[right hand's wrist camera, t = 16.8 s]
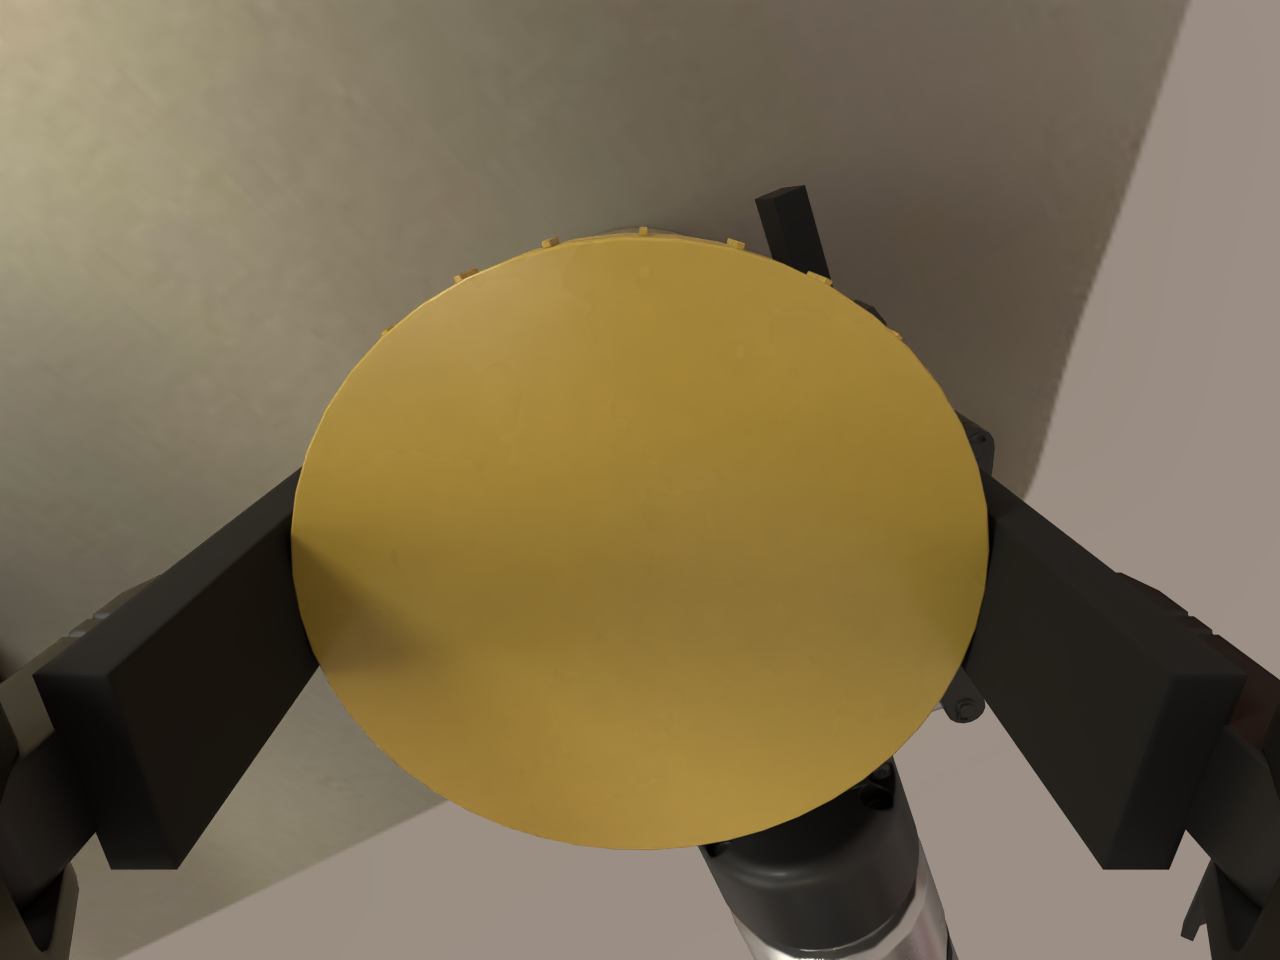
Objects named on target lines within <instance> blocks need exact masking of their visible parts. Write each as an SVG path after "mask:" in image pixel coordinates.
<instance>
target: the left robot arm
mask: <svg viewBox="0 0 1280 960" xmlns="http://www.w3.org/2000/svg"><path fill="white" fill-rule="evenodd" d="M755 202H756V205H757V208H758V212H759V215H760V218H761V221H762V225H763V228H764V231H765V235H766V238H767V241H768V245H769V248H770V251H771V254H772V258H773V260H776V261H778V262H780V263H783V264H785V265H787V266H789V267H791V268H793V269H796V270H798V271H800V272H802V273H804V274H806V275H807V273H808V271H810V272H813V273H815V274H818V275H820V276H823V277H826V278H828V279H830V280H831V278H830V275H829V271H828V267H827V264H826V260H825V257H824V253H823V249H822V246H821V242H820V238H819V235H818V231H817V228H816V224H815V220H814V217H813V213H812V209H811V206H810V202H809V198H808V195H807V191H806V188H805V185H803V186H794V187H786V188H781V189H778V190H776V191H773V192H771V193H769V194H766V195H764V196H761V197H759V198H756V199H755ZM831 287H833V286H832V284H831ZM853 302H855V303H856V304H858V305H859V306H861V307H862V308H864V309H865V310H867V311H868V312H870V313H871V314H873V315H874V316H875V317H876V318H877V319H878V320H879V321H881V322H882V323H883V324H884V325H885V326H886V327H887V325H886V322H885V321H884V320H883V318H882V317H881V316H880V315H879V313H878V312H877V311H876V310H875V308H874V307H873V306H870V305H868V304H866V303H863V302H861V301H859V300H855V301H853ZM954 411H955V410H954ZM955 413H956V415H957V416H958V418H959V420H960V422H961V423H962V425H963V428H964V430H965V433H966V435H967V438H968V441H969V443H970V446H971V448H972V451H973V454H974V456H975V459H976V461H977V464H978V467H979V468H981V469H982V470H983V471H985V472H986V473H987V474H988V475H990V476H992V467H993V458H994V449H995V447H994V439H993V438H992V436H991V435H990V433H988V432H987V431H985V430H984V429H982V428H981V427H979V426H978V425H977V424H975V423H973V422H972V421H970V420H969V419H967V418H966V417H964V416H963V415H961V414H960V413H958V412H957V411H955ZM941 708H943V709H944V710H945V712H946V714H947V715H948V717H949V718H950V719H951V720H953V721H955V722H957V723H967V722H971V721H973V720H975V719H977V718H978V717H979V716H980V715H981V714H982V713H983V711H984V709H985V701H984V698H983V697H982V695H981V694H980V692H979V691H978V689H977V688H976V687H975V685H974V684H973V682H972V681H971V679H970V678H969V677H968V675H967V674H966V672H965V671H964V669H963V668H962V667H961V666H960V667H959V669H958V671H957V673H956V674H955V676H954V678H953V680H952V681H951V683H950V685H949V687H948V688H947V690H946V692H945V694H944V695H943V697H942V699H941V700H940V701H939V703H938V704H937V705H936V706H935V708H934V709H933V710H932V712H933V711H935V710H938V709H941ZM698 847H699V849H700V851H701V853H702V855H703V857H704V859H705V861H706V863H707V865H708V867H709V869H710V871H711V873H712V875H713V877H714V879H715V881H716V883H717V885H718V887H719V889H720V891H721V893H722V895H723V897H724V899H725V901H726V903H727V905H728V906H729V908H730V910H731V913H732V915H733V918H734V921H735V923H736V925H737V927H738V929H739V931H740V933H741V934H742V936H743V938H744V940H745V942H746V944H747V946H748V948H749V950H750V951H751V953H752V955H753V957H754V959H755V960H958V957H957V955H956V952H955V949H954V946H953V944H952V941H951V938H950V936H949V931H948V927H947V924H946V921H945V915H944V910H943V907H942V904H941V901H940V898H939V895H938V892H937V889H936V886H935V883H934V880H933V877H932V874H931V871H930V868H929V865H928V863H927V859H926V857H925V854H924V851H923V848H922V845H921V842H920V839H919V837H918V834H917V830H916V826H915V823H914V820H913V817H912V814H911V810H910V808H909V804H908V801H907V798H906V795H905V792H904V789H903V786H902V783H901V780H900V777H899V774H898V771H897V768H896V765H895V761H894V758H893V755H892V756H891V757H890V758H889V759H888V760H886V761H885V762H884V763H883V764H882V765H880V766H879V767H878V768H877V769H875V770H874V771H873V772H872V773H871V774H869V775H868V776H867V777H866V778H864V779H863V780H862V781H860V782H858V783H857V784H855V785H854V786H852V787H851V788H849V789H848V790H846V791H845V792H843V793H842V794H840V795H839V796H837V797H835V798H834V799H832V800H830V801H828V802H826V803H825V804H823V805H821V806H819V807H817V808H815V809H813V810H811V811H809V812H807V813H805V814H803V815H801V816H799V817H797V818H794V819H791V820H789V821H786V822H784V823H781V824H779V825H776V826H773V827H771V828H768V829H766V830H763V831H759V832H756V833H752V834H748V835H745V836H741V837H738V838H734V839H730V840H727V841H721V842H715V843H710V844H704V845H698Z"/></svg>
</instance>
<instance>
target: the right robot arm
mask: <svg viewBox="0 0 1280 960" xmlns="http://www.w3.org/2000/svg"><path fill="white" fill-rule="evenodd" d="M302 467H303V466H302ZM302 467H301V468H300V469H298V470H297V471H296V472H294V473H293V474H292V475H290V476H289V477H288V478H287V479H285V480H284V481H283V482H281V483H280V484H279V485H277V486H276V487H275V488H274V489H272V490H271V491H270V492H268V493H267V494H266V495H264V496H263V497H262V498H261V499H259V500H258V501H257V502H255V503H254V504H253V505H251V506H250V507H249V508H248V509H246V510H245V511H244V512H242V513H241V514H240V515H239V516H237V517H236V518H235V519H233V520H232V521H231V522H229V523H228V524H227V525H226V526H224V527H223V528H222V529H220V530H219V531H218V532H216V533H215V534H214V535H213V536H211V537H210V538H209V539H207V540H206V541H205V542H203V543H202V544H201V545H200V546H198V547H197V548H196V549H194V550H193V551H192V552H190V553H189V554H188V555H187V556H185V557H184V558H183V559H181V560H180V561H179V562H178V563H176V564H175V565H174V566H172V567H171V568H170V569H168V570H167V571H166V572H165V573H163V574H162V575H159V576H157V577H155V578H153V579H151V580H148V581H146V582H144V583H142V584H140V585H138V586H136V587H134V588H132V589H130V590H127V591H125V592H123V593H121V594H120V595H119V596H117V597H116V598H115V599H113V600H112V601H111V602H109V603H108V604H107V605H105V606H104V607H103V608H101V609H100V610H99V611H97V612H96V613H95V614H93V619H87V620H85V621H84V622H83V623H81V624H80V625H79V626H77V627H76V628H75V629H73V630H72V631H71V632H69V637H63V638H61V639H60V640H58V641H57V642H56V643H54V644H53V645H52V646H50V647H49V648H48V649H46V650H45V651H44V652H42V653H41V654H40V655H38V656H37V657H36V658H34V659H33V660H32V661H30V662H29V663H28V664H26V665H25V666H24V667H22V668H21V669H20V670H18V671H17V672H16V673H14V674H13V675H12V676H10V677H9V678H8V679H6V680H5V681H4V682H2V683H1V684H0V960H69V953H70V946H71V940H72V933H73V926H74V920H75V913H76V906H77V900H78V893H79V887H78V882H77V876H76V874H75V871H74V869H73V867H72V864H71V862H70V861H71V860H72V859H73V857H74V856H75V855H76V854H77V853H78V852H79V851H80V849H81V848H82V847H83V846H84V845H85V844H86V842H87V841H88V840H89V839H90V838H91V837H92V836H93V834H94V833H95V832H96V834H97V836H98V839H99V841H100V843H101V846H102V848H103V851H104V853H105V856H106V858H107V861H108V863H109V865H110V868H111V869H178V867H179V866H180V865H181V863H182V862H183V860H184V859H185V857H186V856H187V855H188V853H189V852H190V850H191V849H192V847H193V846H194V844H195V843H196V842H197V840H198V839H199V837H200V836H201V834H202V833H203V832H204V830H205V829H206V827H207V826H208V824H209V823H210V822H211V820H212V819H213V817H214V816H215V814H216V813H217V812H218V810H219V809H220V807H221V806H222V804H223V803H224V801H225V800H226V799H227V797H228V796H229V794H230V793H231V791H232V790H233V789H234V787H235V786H236V784H237V783H238V781H239V780H240V779H241V777H242V776H243V774H244V773H245V771H246V770H247V769H248V767H249V766H250V764H251V763H252V761H253V760H254V758H255V757H256V756H257V754H258V753H259V751H260V750H261V748H262V747H263V746H264V744H265V743H266V741H267V740H268V738H269V737H270V736H271V734H272V733H273V731H274V730H275V728H276V727H277V726H278V724H279V723H280V721H281V720H282V718H283V717H284V716H285V714H286V713H287V711H288V710H289V708H290V707H291V705H292V704H293V703H294V701H295V700H296V698H297V697H298V695H299V694H300V693H301V691H302V690H303V688H304V687H305V685H306V684H307V683H308V681H309V680H310V678H311V677H312V675H313V674H314V673H315V671H316V670H317V668H318V667H319V663H318V661H317V659H316V657H315V655H314V653H313V651H312V648H311V645H310V642H309V640H308V637H307V634H306V631H305V628H304V625H303V622H302V619H301V616H300V612H299V608H298V602H297V597H296V592H295V587H294V582H293V576H292V556H291V527H292V518H293V509H294V500H295V492H296V488H297V485H298V481H299V478H300V474H301V470H302ZM979 472H980V477H981V481H982V486H983V491H984V495H985V500H986V505H987V515H988V533H989V559H988V570H987V580H986V589H985V594H984V598H983V602H982V606H981V610H980V614H979V618H978V622H977V626H976V629H975V632H974V634H973V637H972V639H971V642H970V644H969V647H968V649H967V652H966V654H965V657H964V659H963V662H962V664H961V667H962V668H963V669H964V671H965V672H966V674H967V675H968V677H969V678H970V679H971V681H972V682H973V684H974V685H975V687H976V688H977V689H978V691H979V692H980V694H981V695H982V697H983V698H984V699H985V701H986V702H987V704H988V705H989V707H990V708H991V709H992V711H993V712H994V714H995V715H996V717H997V718H998V720H999V721H1000V722H1001V724H1002V725H1003V727H1004V728H1005V730H1006V731H1007V732H1008V734H1009V735H1010V737H1011V738H1012V740H1013V741H1014V742H1015V744H1016V745H1017V747H1018V748H1019V749H1020V751H1021V752H1022V754H1023V755H1024V757H1025V758H1026V760H1027V761H1028V762H1029V764H1030V765H1031V767H1032V768H1033V770H1034V771H1035V773H1036V774H1037V775H1038V777H1039V778H1040V780H1041V781H1042V783H1043V784H1044V785H1045V787H1046V788H1047V790H1048V791H1049V793H1050V794H1051V795H1052V797H1053V798H1054V800H1055V801H1056V803H1057V804H1058V805H1059V807H1060V808H1061V810H1062V811H1063V813H1064V814H1065V815H1066V817H1067V818H1068V820H1069V821H1070V823H1071V824H1072V826H1073V827H1074V828H1075V830H1076V831H1077V833H1078V834H1079V836H1080V837H1081V838H1082V840H1083V841H1084V843H1085V844H1086V846H1087V847H1088V848H1089V850H1090V851H1091V853H1092V854H1093V856H1094V857H1095V859H1096V860H1097V861H1098V863H1099V864H1100V866H1101V867H1102V869H1104V870H1169V869H1170V866H1171V864H1172V861H1173V859H1174V856H1175V854H1176V852H1177V849H1178V847H1179V844H1180V842H1181V839H1182V837H1183V834H1184V832H1185V829H1186V830H1187V831H1188V833H1189V834H1190V835H1191V836H1192V837H1193V838H1194V839H1195V840H1196V842H1197V843H1198V844H1199V845H1200V846H1201V847H1202V848H1203V850H1204V851H1205V852H1206V853H1207V854H1208V855H1209V856H1210V858H1211V860H1210V862H1209V864H1208V867H1207V869H1206V871H1205V874H1204V876H1203V878H1202V880H1201V883H1200V885H1199V887H1198V890H1197V892H1196V894H1195V896H1194V899H1193V901H1192V903H1191V906H1190V908H1189V910H1188V913H1187V915H1186V917H1185V919H1184V922H1183V927H1182V932H1181V936H1182V937H1184V938H1186V939H1189V940H1191V941H1193V940H1194V938H1195V935H1196V933H1197V931H1198V929H1199V927H1200V926H1201V925H1203V924H1207V930H1208V937H1209V944H1210V950H1211V956H1212V960H1280V680H1279V679H1278V678H1276V677H1275V676H1274V675H1272V674H1271V673H1270V672H1268V671H1267V670H1266V669H1264V668H1263V667H1262V666H1260V665H1259V664H1257V663H1256V662H1255V661H1253V660H1252V659H1251V658H1249V657H1248V656H1247V655H1245V654H1244V653H1243V652H1241V651H1240V650H1239V649H1237V648H1236V647H1235V646H1233V645H1232V644H1230V643H1229V642H1228V641H1226V640H1225V639H1224V638H1222V637H1221V636H1220V635H1213V633H1212V629H1210V628H1209V627H1208V626H1206V625H1205V624H1203V623H1202V622H1201V621H1199V620H1198V619H1197V618H1195V617H1194V616H1188V612H1187V611H1186V610H1185V609H1183V608H1182V607H1180V606H1179V605H1178V604H1176V603H1175V602H1174V601H1172V600H1171V599H1170V598H1168V597H1167V596H1166V595H1164V594H1163V593H1162V592H1160V591H1159V590H1157V589H1155V588H1152V587H1150V586H1148V585H1146V584H1144V583H1142V582H1140V581H1138V580H1136V579H1133V578H1131V577H1129V576H1127V575H1125V574H1123V573H1116V572H1114V571H1113V570H1112V569H1111V568H1109V567H1108V566H1107V565H1105V564H1104V563H1103V562H1101V561H1100V560H1099V559H1098V558H1096V557H1095V556H1094V555H1092V554H1091V553H1090V552H1088V551H1087V550H1086V549H1084V548H1083V547H1082V546H1081V545H1079V544H1078V543H1077V542H1075V541H1074V540H1073V539H1072V538H1070V537H1069V536H1068V535H1066V534H1065V533H1064V532H1062V531H1061V530H1060V529H1059V528H1057V527H1056V526H1055V525H1053V524H1052V523H1051V522H1049V521H1048V520H1047V519H1046V518H1044V517H1043V516H1042V515H1040V514H1039V513H1038V512H1037V511H1035V510H1034V509H1033V508H1031V507H1030V506H1029V505H1027V504H1026V503H1025V502H1024V501H1022V500H1021V499H1020V498H1018V497H1017V496H1016V495H1014V494H1013V493H1012V492H1011V491H1009V490H1008V489H1007V488H1005V487H1004V486H1003V485H1001V484H1000V483H999V482H998V481H996V480H995V479H994V478H992V477H991V476H990V475H988V474H987V473H986V472H985V471H983V470H982V469H981V468H979Z"/></svg>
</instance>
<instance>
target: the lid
mask: <svg viewBox="0 0 1280 960" xmlns="http://www.w3.org/2000/svg"><path fill="white" fill-rule="evenodd" d="M542 246H543V247H542V248H538V249H534V250H531V251H528V252H526V253H524V254H521V255H519V256H516V257H514V258H512V259H509V260H507V261H504V262H502V263H500V264H497V265H495V266H492V267H490V268H488V269H485V270H483V271H480V272H479V271H478V269H477V268H475V269H473V270H470V271H467V272H465V273H462V274H460V275H458V276H456V277H454V278H453V280H454V281H455V283H456V284H454V285H453V286H451V287H449V288H448V289H446V290H444V291H443V292H441V293H439V294H438V295H436V296H434V297H433V298H431V299H429V300H428V301H426V302H424V303H423V304H421V305H420V306H419V307H417V308H416V309H415V310H414V311H412V312H411V313H410V314H409V315H408V316H406V317H405V318H404V319H403V320H401V321H400V322H399V323H397V324H395V325H393V326H391V327H389V328H387V329H385V330H384V331H383V332H382V333H381V335H382V337H381V338H380V339H379V341H378V342H377V343H376V344H375V345H374V346H373V347H372V348H371V349H370V351H369V352H368V353H367V354H366V355H365V356H364V357H363V358H362V359H361V361H360V362H359V363H358V364H357V365H356V366H355V367H354V368H353V369H352V371H351V372H350V373H349V375H348V376H347V378H346V379H345V381H344V382H343V384H342V385H341V387H340V388H339V390H338V391H337V393H336V395H335V396H334V397H333V399H332V401H331V402H330V404H329V405H328V407H327V408H326V410H325V412H324V414H323V416H322V418H321V421H320V423H319V425H318V427H317V429H316V432H315V434H314V436H313V438H312V441H311V443H310V445H309V447H308V449H307V452H306V456H305V459H304V463H303V467H302V470H301V474H300V478H299V481H298V485H297V488H296V492H295V500H294V509H293V518H292V527H291V556H292V576H293V582H294V587H295V592H296V597H297V602H298V608H299V612H300V616H301V619H302V622H303V625H304V628H305V631H306V634H307V637H308V640H309V642H310V645H311V648H312V651H313V653H314V655H315V657H316V659H317V661H318V663H319V665H320V667H321V669H322V671H323V673H324V675H325V677H326V679H327V681H328V683H329V685H330V686H331V688H332V689H333V691H334V692H335V694H336V695H337V697H338V698H339V699H340V701H341V702H342V704H343V705H344V707H345V708H346V710H347V711H348V713H349V714H350V715H351V717H352V718H353V719H354V720H355V721H356V723H357V724H358V725H359V726H360V727H361V728H362V729H363V731H364V732H365V733H366V734H367V735H368V736H369V737H370V738H371V740H372V741H373V742H374V743H375V744H376V745H377V746H378V747H379V748H380V749H381V750H382V751H383V752H385V753H386V754H387V755H388V756H389V757H390V758H391V759H392V760H394V761H395V762H396V763H397V764H398V765H399V766H400V767H401V768H403V769H404V770H405V771H406V772H407V773H409V774H410V775H412V776H413V777H415V778H416V779H417V780H419V781H420V782H422V783H423V784H424V785H426V786H427V787H429V788H430V789H432V790H433V791H434V792H436V793H437V794H439V795H441V796H443V797H445V798H446V799H448V800H450V801H452V802H454V803H455V804H457V805H459V806H461V807H463V808H464V809H466V810H468V811H470V812H472V813H475V814H477V815H479V816H482V817H484V818H486V819H489V820H491V821H494V822H496V823H498V824H500V825H503V826H505V827H509V828H512V829H515V830H518V831H521V832H525V833H528V834H531V835H534V836H537V837H541V838H546V839H551V840H555V841H560V842H565V843H570V844H574V845H580V846H589V847H598V848H607V849H627V850H657V849H670V848H683V847H692V846H698V845H704V844H710V843H715V842H721V841H727V840H730V839H734V838H738V837H741V836H745V835H748V834H752V833H756V832H759V831H763V830H766V829H768V828H771V827H773V826H776V825H779V824H781V823H784V822H786V821H789V820H791V819H794V818H797V817H799V816H801V815H803V814H805V813H807V812H809V811H811V810H813V809H815V808H817V807H819V806H821V805H823V804H825V803H826V802H828V801H830V800H832V799H834V798H835V797H837V796H839V795H840V794H842V793H843V792H845V791H846V790H848V789H849V788H851V787H852V786H854V785H855V784H857V783H858V782H860V781H862V780H863V779H864V778H866V777H867V776H868V775H869V774H871V773H872V772H873V771H874V770H875V769H877V768H878V767H879V766H880V765H882V764H883V763H884V762H885V761H886V760H888V759H889V758H890V757H891V756H892V755H894V754H895V753H896V752H897V750H898V749H899V748H900V747H901V746H902V745H903V744H904V743H905V742H906V741H907V740H908V739H909V738H910V737H911V736H912V735H913V734H914V733H915V732H916V731H917V730H918V729H919V728H920V726H921V725H922V724H923V722H924V721H925V720H926V718H927V717H928V716H929V714H930V713H931V712H932V710H933V709H934V708H935V706H936V705H937V704H938V703H939V701H940V700H941V699H942V697H943V695H944V694H945V692H946V690H947V688H948V687H949V685H950V683H951V681H952V680H953V678H954V676H955V674H956V673H957V671H958V669H959V667H960V666H961V664H962V662H963V659H964V657H965V654H966V652H967V649H968V647H969V644H970V642H971V639H972V637H973V634H974V632H975V629H976V626H977V622H978V618H979V614H980V610H981V606H982V602H983V598H984V594H985V589H986V580H987V570H988V559H989V533H988V515H987V505H986V500H985V495H984V491H983V486H982V481H981V477H980V472H979V467H978V464H977V461H976V459H975V456H974V454H973V451H972V448H971V446H970V443H969V441H968V438H967V435H966V433H965V430H964V428H963V425H962V423H961V422H960V420H959V418H958V416H957V415H956V413H955V411H954V409H953V408H952V406H951V404H950V402H949V401H948V399H947V397H946V396H945V394H944V392H943V390H942V389H941V387H940V385H939V384H938V383H937V381H936V380H935V379H934V378H933V376H932V375H931V374H930V373H929V372H928V370H927V369H926V368H925V367H924V365H923V364H922V363H921V362H920V360H919V359H918V358H917V357H916V355H915V354H914V353H913V352H912V350H911V349H910V348H909V347H908V346H907V345H906V344H905V343H903V342H902V341H901V340H902V339H903V337H902V336H901V335H900V334H899V333H897V332H895V331H893V330H891V329H889V328H887V327H886V326H885V325H884V324H883V323H882V322H881V321H879V320H878V319H877V318H876V317H875V316H874V315H873V314H871V313H870V312H868V311H867V310H865V309H864V308H862V307H861V306H859V305H858V304H856V303H855V302H853V301H852V300H850V299H849V298H847V297H846V296H844V295H843V294H841V293H840V292H838V291H837V290H835V289H834V288H833V287H831V284H832V283H833V281H831V280H830V279H828V278H826V277H823V276H820V275H818V274H815V273H813V272H810V271H808V273H807V275H806V274H804V273H802V272H800V271H798V270H796V269H793V268H791V267H789V266H787V265H785V264H783V263H780V262H778V261H776V260H773V259H771V258H768V257H766V256H763V255H760V254H757V253H753V252H750V251H747V250H744V247H745V243H742V242H740V241H737V240H734V239H730V238H728V240H727V244H725V243H722V242H718V241H712V240H706V239H700V238H694V237H688V236H682V235H676V234H654V233H648V229H647V227H639V233H619V234H610V235H601V236H592V237H584V238H576V239H573V240H569V241H565V242H561V243H559V238H558V237H554V238H550V239H548V240H545V241H542Z"/></svg>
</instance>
